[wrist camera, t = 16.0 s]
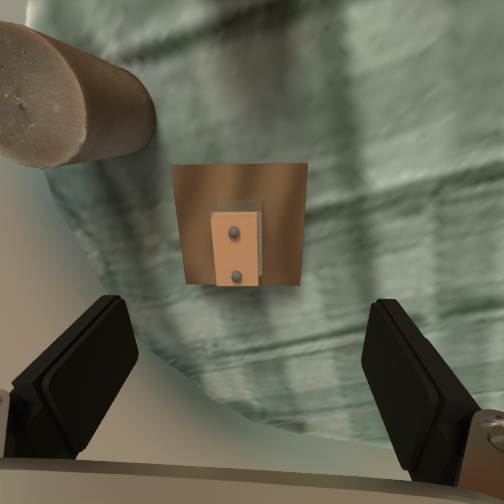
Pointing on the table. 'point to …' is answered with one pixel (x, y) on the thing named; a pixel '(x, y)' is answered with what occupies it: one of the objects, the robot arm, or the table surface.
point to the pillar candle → (66, 103)
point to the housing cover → (235, 248)
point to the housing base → (244, 207)
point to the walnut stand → (242, 188)
